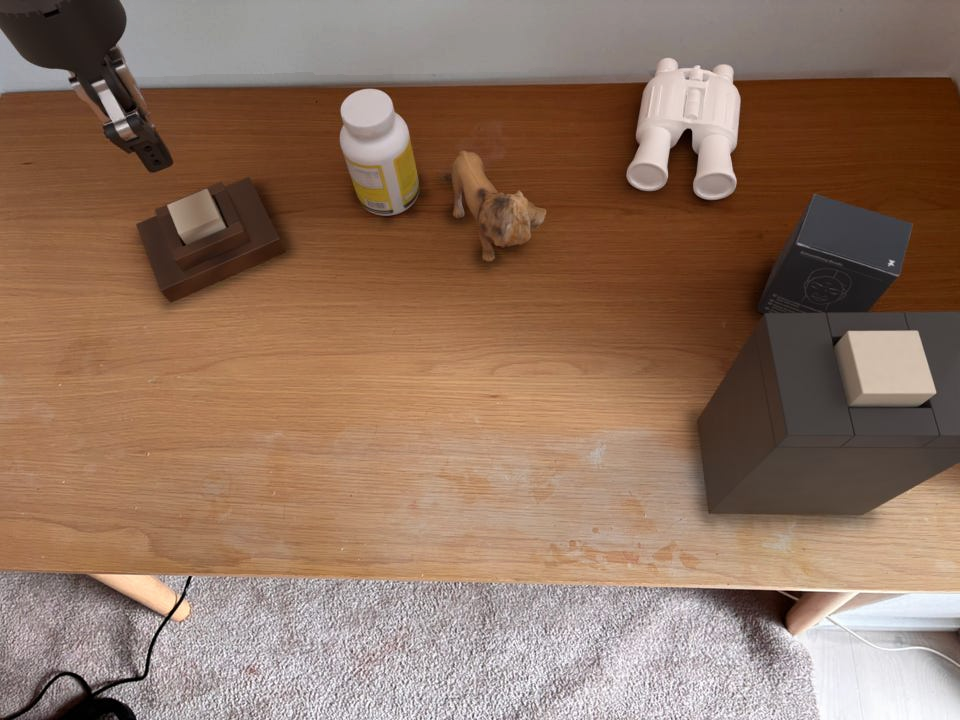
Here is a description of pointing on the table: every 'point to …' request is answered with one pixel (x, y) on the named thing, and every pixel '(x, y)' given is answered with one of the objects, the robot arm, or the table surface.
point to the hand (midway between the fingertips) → (160, 163)
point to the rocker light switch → (211, 242)
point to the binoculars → (688, 106)
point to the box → (836, 260)
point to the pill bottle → (378, 153)
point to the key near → (883, 369)
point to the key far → (196, 216)
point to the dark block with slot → (825, 420)
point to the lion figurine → (491, 206)
